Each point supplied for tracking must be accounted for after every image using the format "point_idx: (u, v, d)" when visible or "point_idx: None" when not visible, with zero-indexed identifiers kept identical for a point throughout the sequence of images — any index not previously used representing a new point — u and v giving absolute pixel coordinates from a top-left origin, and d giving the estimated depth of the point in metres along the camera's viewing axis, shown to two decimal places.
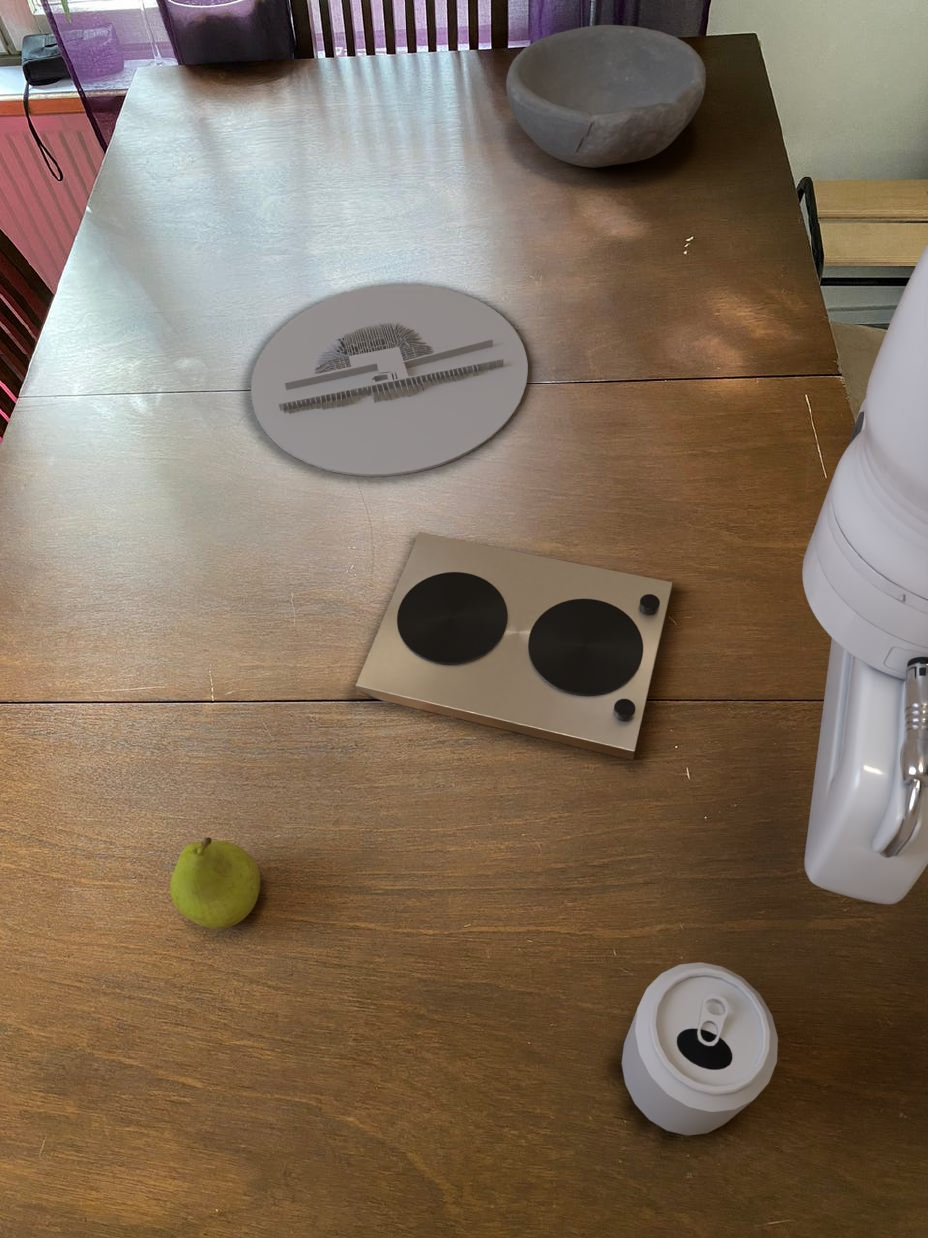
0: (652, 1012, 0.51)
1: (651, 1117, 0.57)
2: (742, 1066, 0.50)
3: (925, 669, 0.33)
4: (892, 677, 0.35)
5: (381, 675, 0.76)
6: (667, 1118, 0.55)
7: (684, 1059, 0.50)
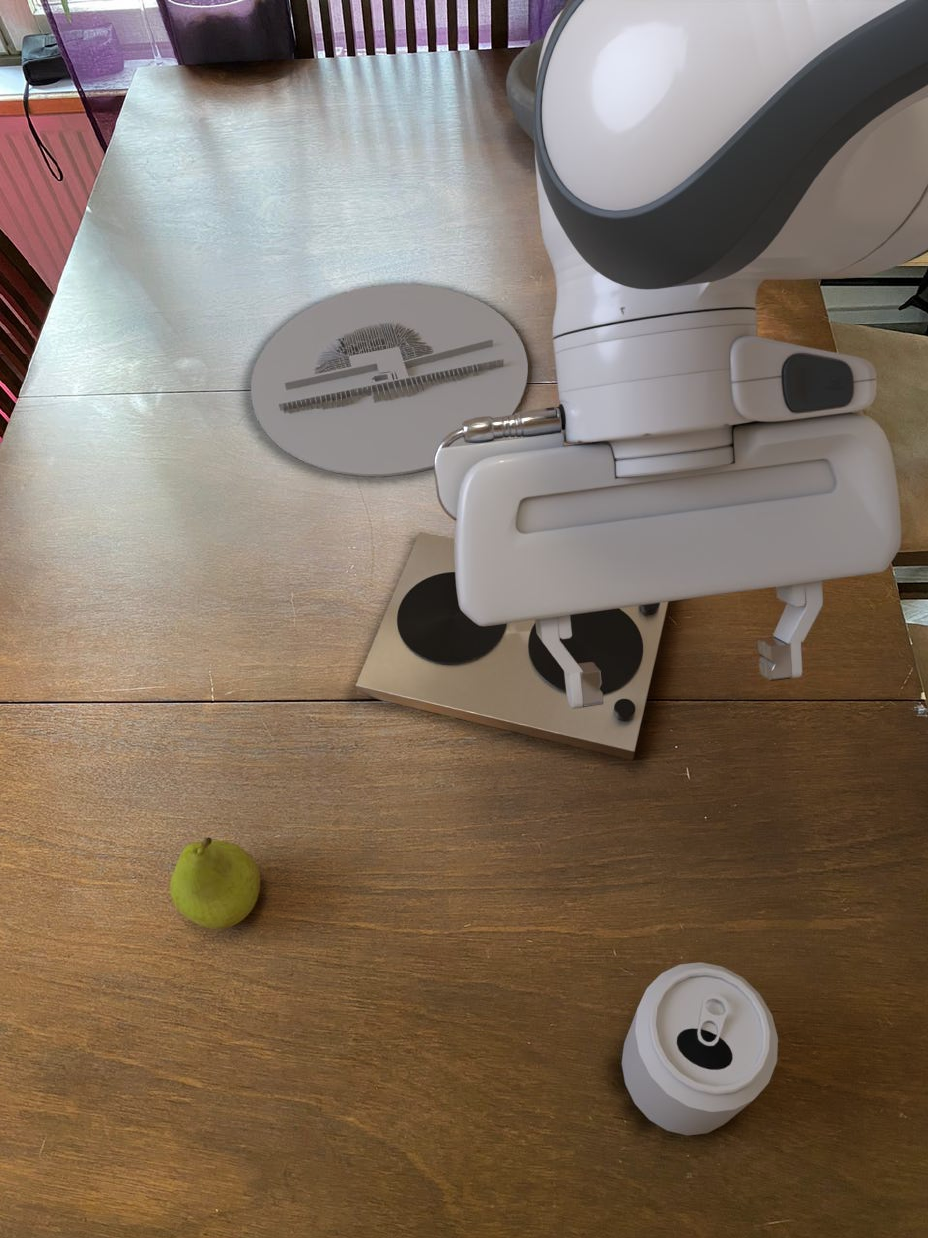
0: (652, 1012, 0.51)
1: (651, 1117, 0.57)
2: (742, 1066, 0.50)
3: (551, 407, 0.43)
4: (566, 445, 0.44)
5: (381, 675, 0.76)
6: (667, 1118, 0.55)
7: (684, 1059, 0.50)
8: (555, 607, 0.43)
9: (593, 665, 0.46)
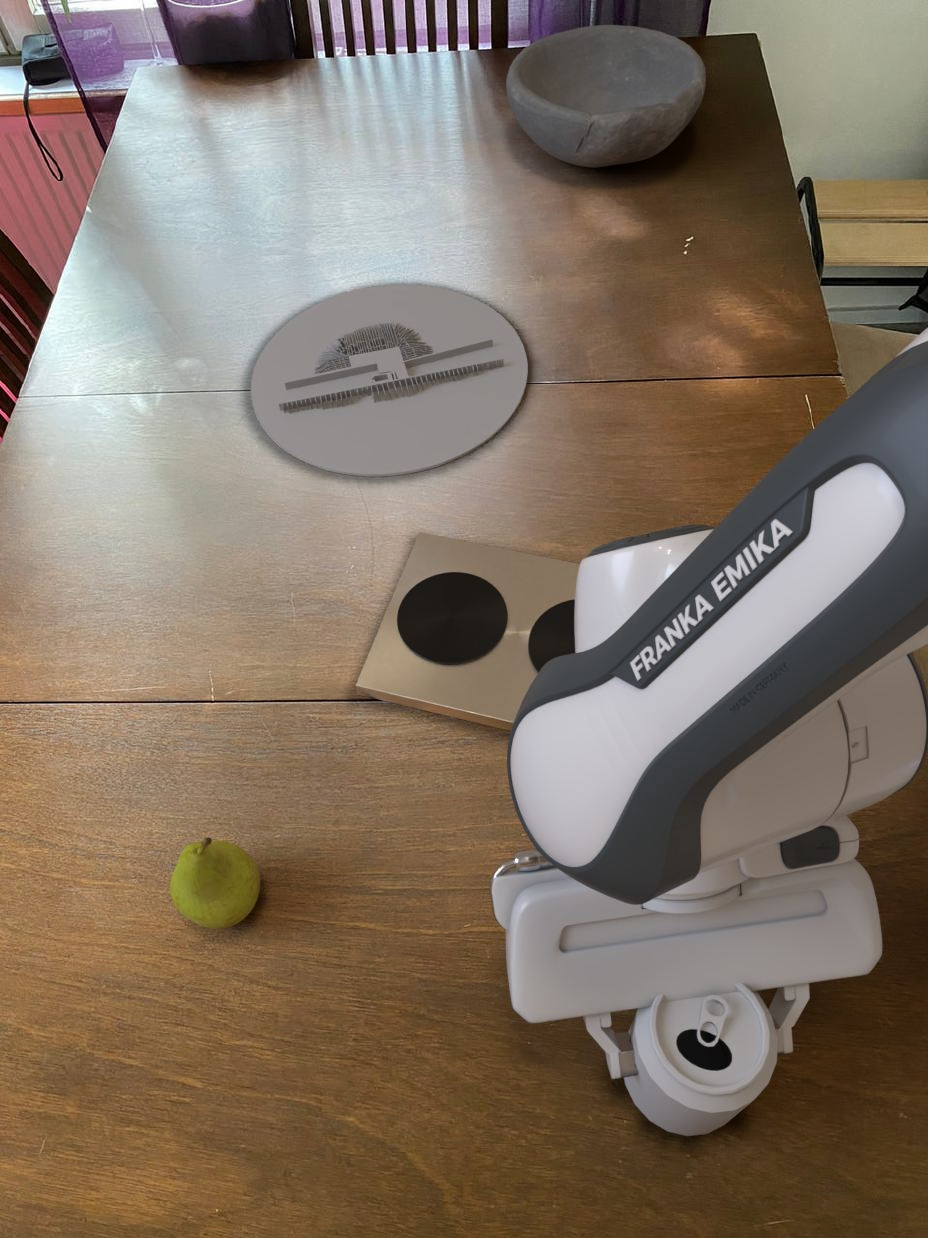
0: (652, 1013, 0.51)
1: (651, 1118, 0.57)
2: (742, 1067, 0.50)
3: None
4: None
5: (381, 675, 0.76)
6: (667, 1119, 0.55)
7: (683, 1060, 0.50)
8: (592, 1009, 0.52)
9: (629, 1039, 0.54)
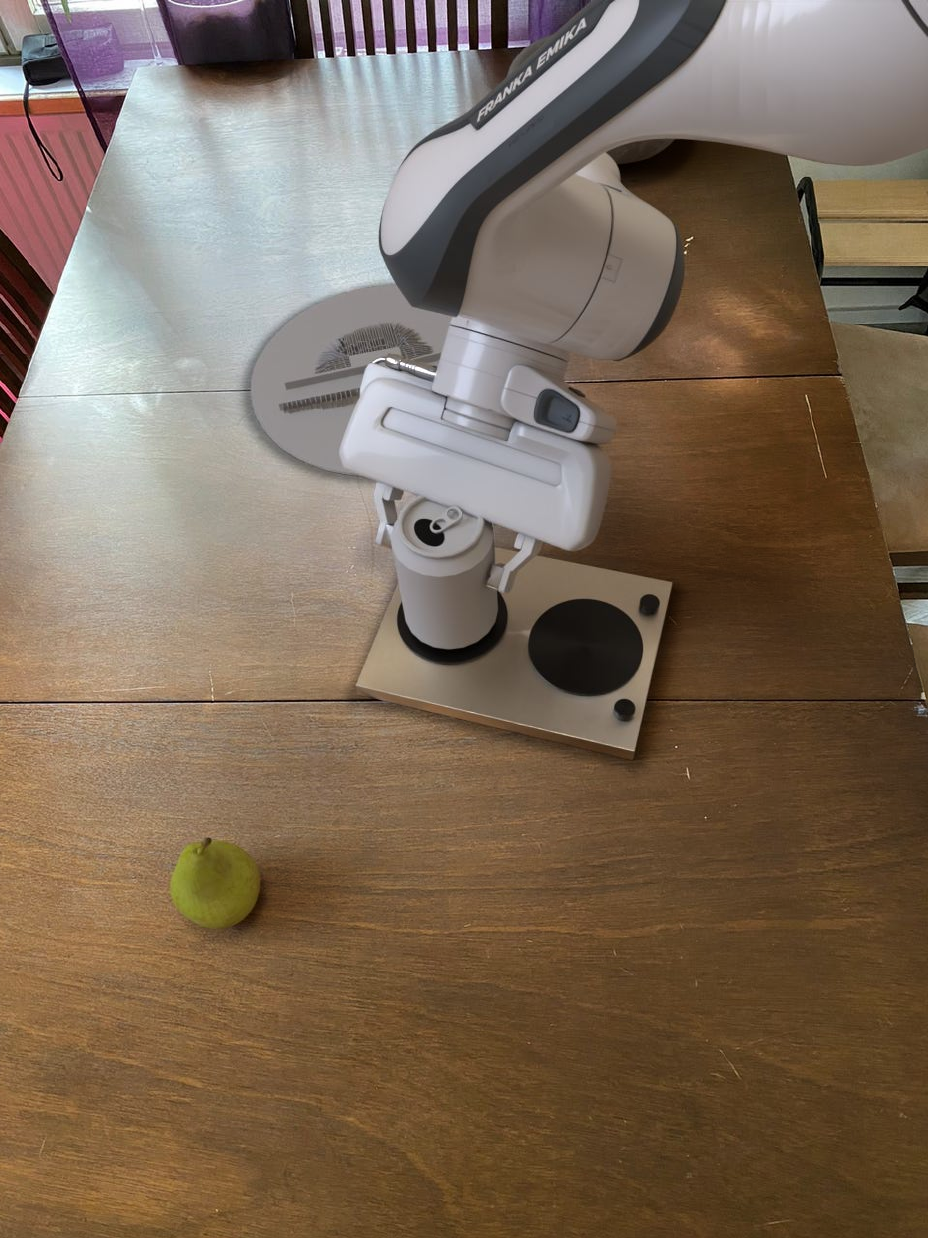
0: (414, 498, 0.70)
1: None
2: (443, 550, 0.68)
3: None
4: None
5: (381, 675, 0.76)
6: (404, 603, 0.74)
7: (412, 530, 0.69)
8: (382, 476, 0.71)
9: None
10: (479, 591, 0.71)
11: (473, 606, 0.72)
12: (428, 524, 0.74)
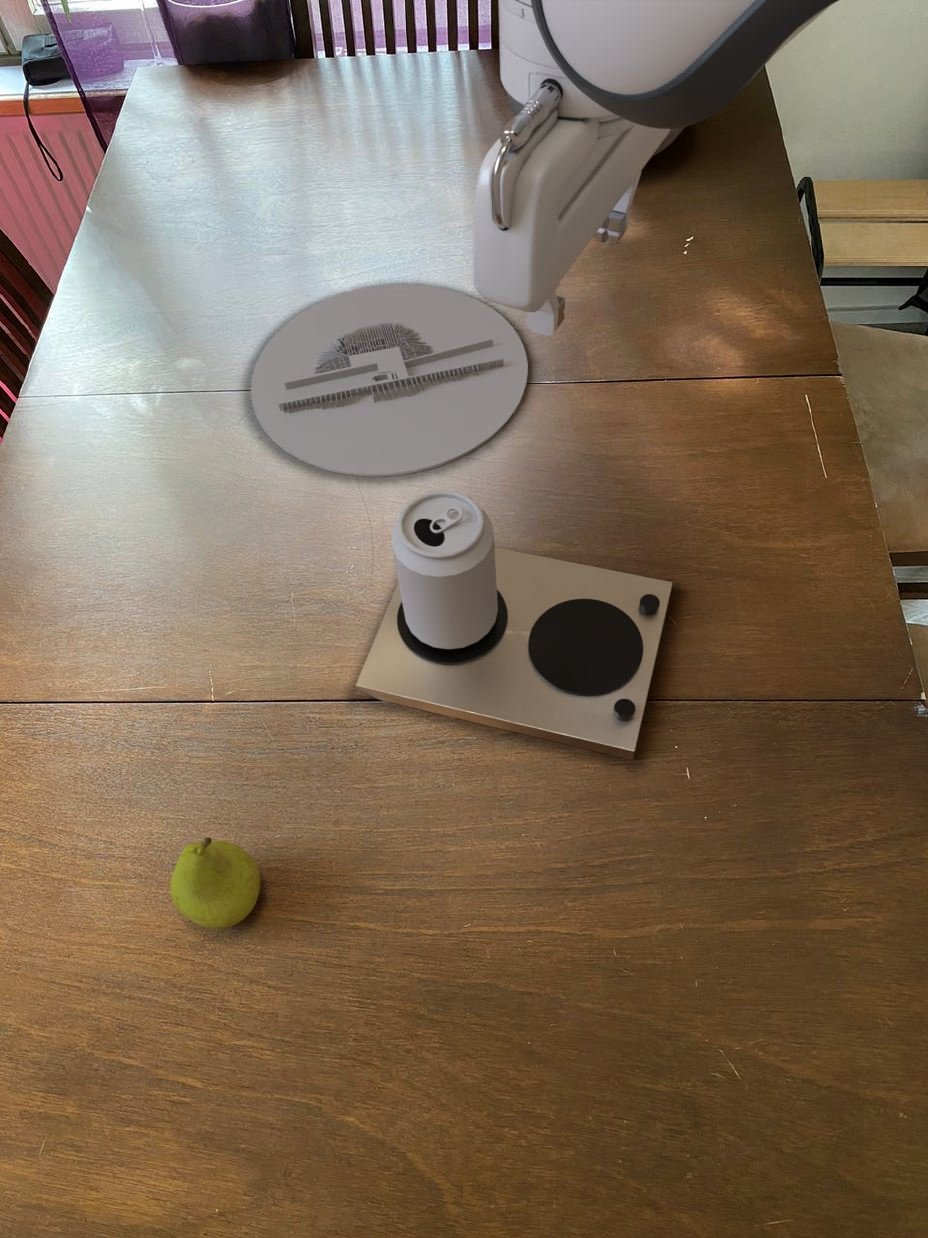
0: (414, 498, 0.70)
1: None
2: (443, 550, 0.68)
3: (544, 85, 0.45)
4: None
5: (381, 675, 0.76)
6: (404, 603, 0.74)
7: (412, 530, 0.69)
8: (567, 268, 0.51)
9: None
10: (479, 591, 0.71)
11: (473, 606, 0.72)
12: (428, 524, 0.74)
